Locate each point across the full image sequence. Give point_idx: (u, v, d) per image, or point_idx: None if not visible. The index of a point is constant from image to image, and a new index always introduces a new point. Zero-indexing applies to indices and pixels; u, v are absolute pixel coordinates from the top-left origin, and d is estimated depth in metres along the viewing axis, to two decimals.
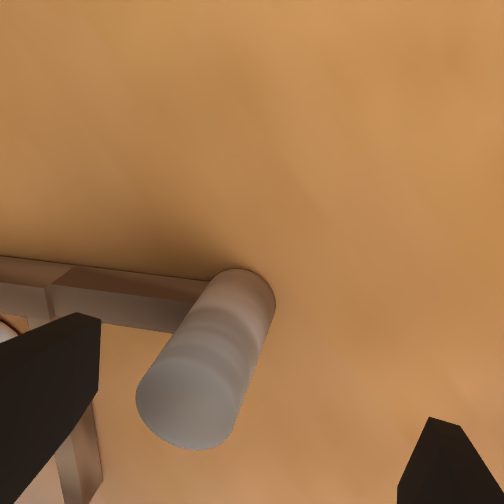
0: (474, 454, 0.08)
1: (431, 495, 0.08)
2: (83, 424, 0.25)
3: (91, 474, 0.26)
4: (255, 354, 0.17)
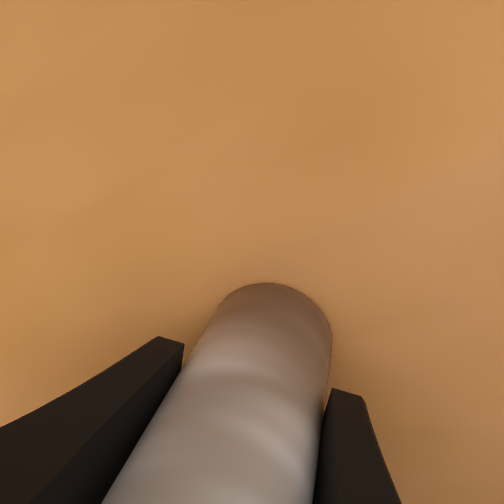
0: (363, 421, 0.08)
1: (322, 460, 0.08)
2: None
3: None
4: (232, 385, 0.08)
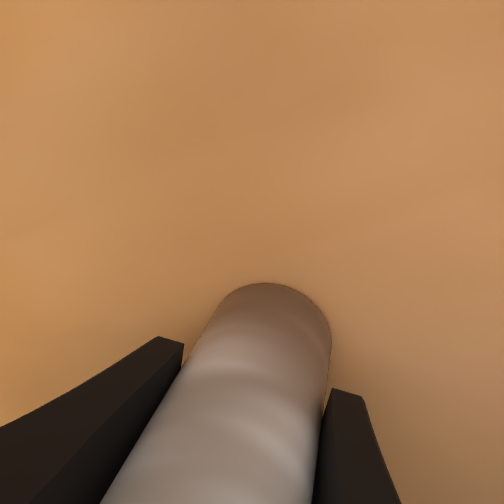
0: (363, 421, 0.08)
1: (321, 460, 0.08)
2: None
3: None
4: (231, 385, 0.08)
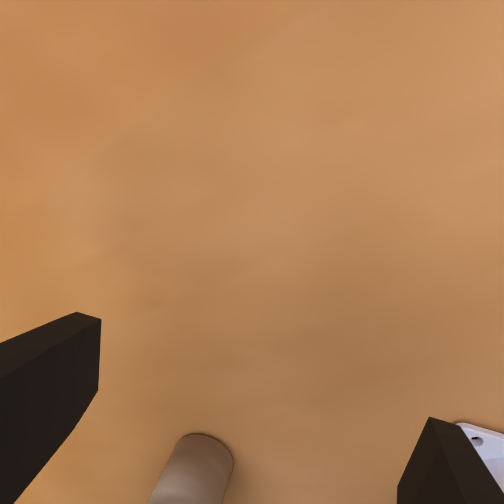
0: (474, 454, 0.08)
1: (431, 495, 0.08)
2: None
3: None
4: (173, 503, 0.20)
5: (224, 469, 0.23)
